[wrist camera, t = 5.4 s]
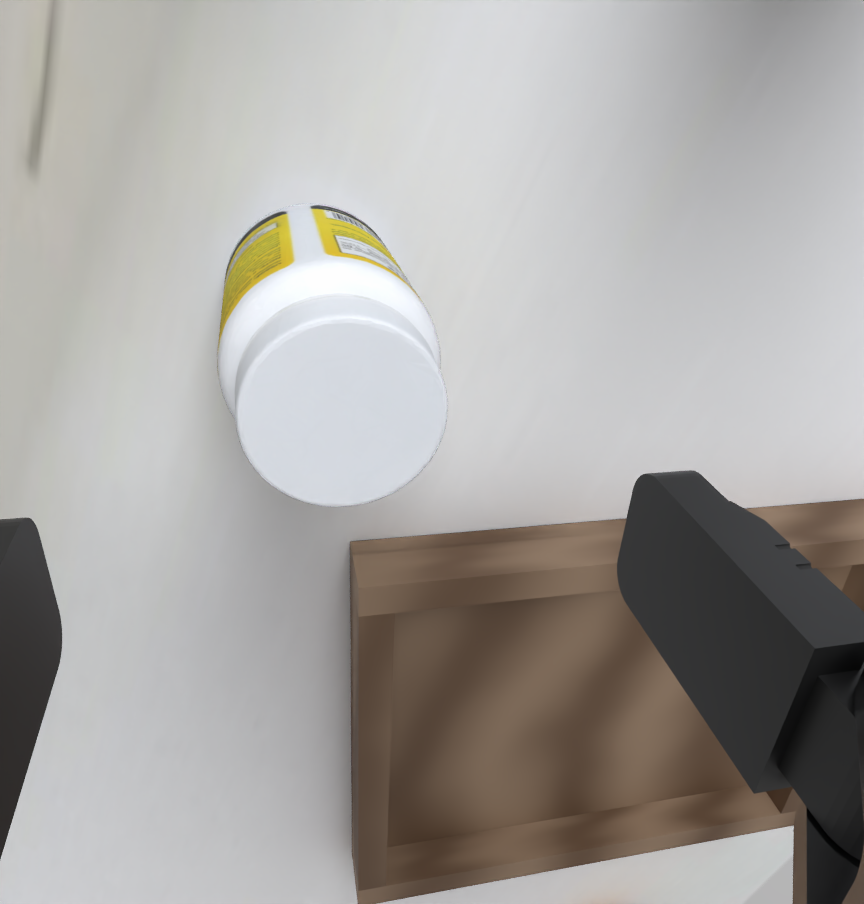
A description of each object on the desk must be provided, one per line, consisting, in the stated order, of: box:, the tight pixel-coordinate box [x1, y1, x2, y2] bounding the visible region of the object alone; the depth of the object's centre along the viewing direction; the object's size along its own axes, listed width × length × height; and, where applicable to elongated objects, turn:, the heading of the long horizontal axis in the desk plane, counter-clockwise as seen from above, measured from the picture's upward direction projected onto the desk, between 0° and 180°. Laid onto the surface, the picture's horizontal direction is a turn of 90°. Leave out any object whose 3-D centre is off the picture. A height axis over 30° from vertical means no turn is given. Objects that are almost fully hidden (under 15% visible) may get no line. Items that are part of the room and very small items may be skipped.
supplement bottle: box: [217, 203, 448, 507], centre depth 17 cm, size 5×5×8 cm
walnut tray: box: [350, 499, 864, 904], centre depth 31 cm, size 22×18×2 cm
